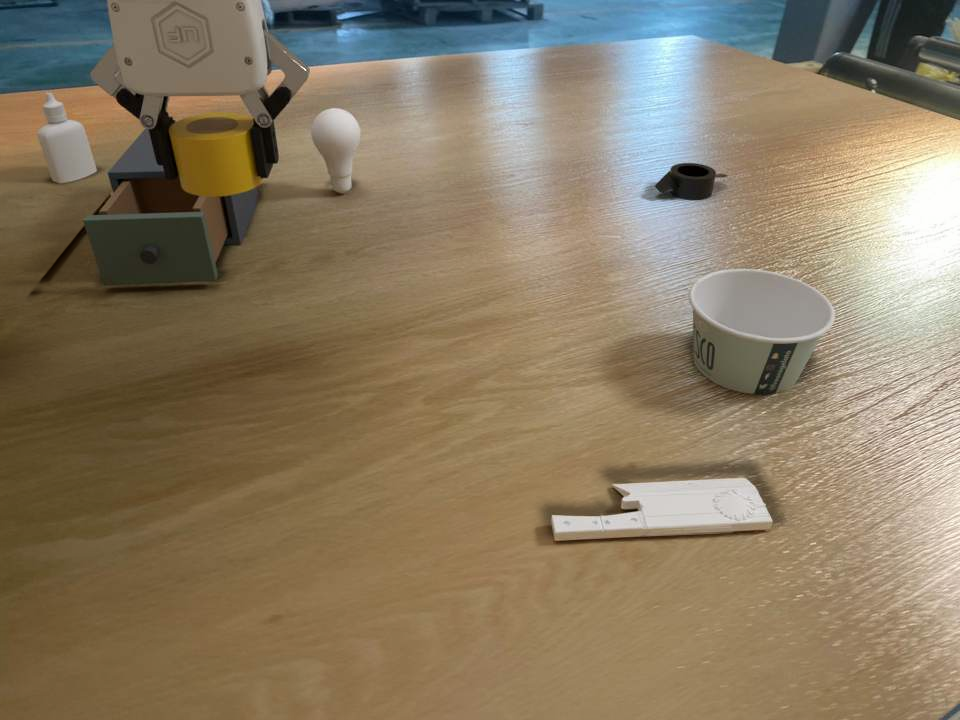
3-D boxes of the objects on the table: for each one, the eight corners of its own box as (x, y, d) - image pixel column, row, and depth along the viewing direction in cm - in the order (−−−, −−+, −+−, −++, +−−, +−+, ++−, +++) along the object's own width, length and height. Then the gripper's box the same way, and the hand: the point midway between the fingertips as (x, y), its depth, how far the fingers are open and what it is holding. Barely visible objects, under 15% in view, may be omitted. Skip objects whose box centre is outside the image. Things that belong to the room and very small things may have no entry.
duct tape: (649, 179, 105) (652, 158, 103) (723, 182, 104) (727, 161, 102) (653, 201, 99) (656, 180, 97) (732, 205, 98) (736, 183, 96)
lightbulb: (373, 195, 100) (366, 111, 94) (331, 206, 97) (321, 120, 91) (352, 180, 104) (344, 99, 98) (311, 190, 101) (300, 107, 95)
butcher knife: (544, 488, 56) (545, 477, 55) (745, 480, 57) (748, 469, 56) (554, 541, 52) (555, 529, 51) (770, 531, 52) (774, 520, 52)
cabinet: (240, 244, 88) (225, 169, 83) (129, 248, 87) (106, 172, 82) (260, 194, 100) (248, 125, 95) (162, 197, 99) (144, 128, 94)
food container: (845, 390, 66) (867, 326, 62) (722, 416, 63) (737, 350, 59) (764, 319, 75) (780, 260, 71) (654, 338, 72) (664, 278, 68)
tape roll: (171, 197, 58) (157, 139, 56) (192, 167, 64) (180, 112, 61) (256, 196, 59) (246, 138, 56) (269, 165, 64) (261, 111, 61)
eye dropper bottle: (53, 181, 104) (23, 91, 97) (98, 174, 106) (71, 86, 99) (55, 193, 100) (24, 101, 94) (101, 185, 103) (74, 94, 96)
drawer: (213, 286, 78) (198, 221, 74) (99, 291, 78) (78, 225, 73) (239, 225, 90) (227, 166, 86) (140, 228, 90) (124, 169, 85)
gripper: (10, -82, 47) (93, 193, 57) (295, -81, 48) (326, 189, 58) (57, -93, 53) (125, 157, 63) (309, -92, 54) (335, 154, 64)
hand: (221, 170), depth 61 cm, fingers closed on tape roll, 6 cm apart
